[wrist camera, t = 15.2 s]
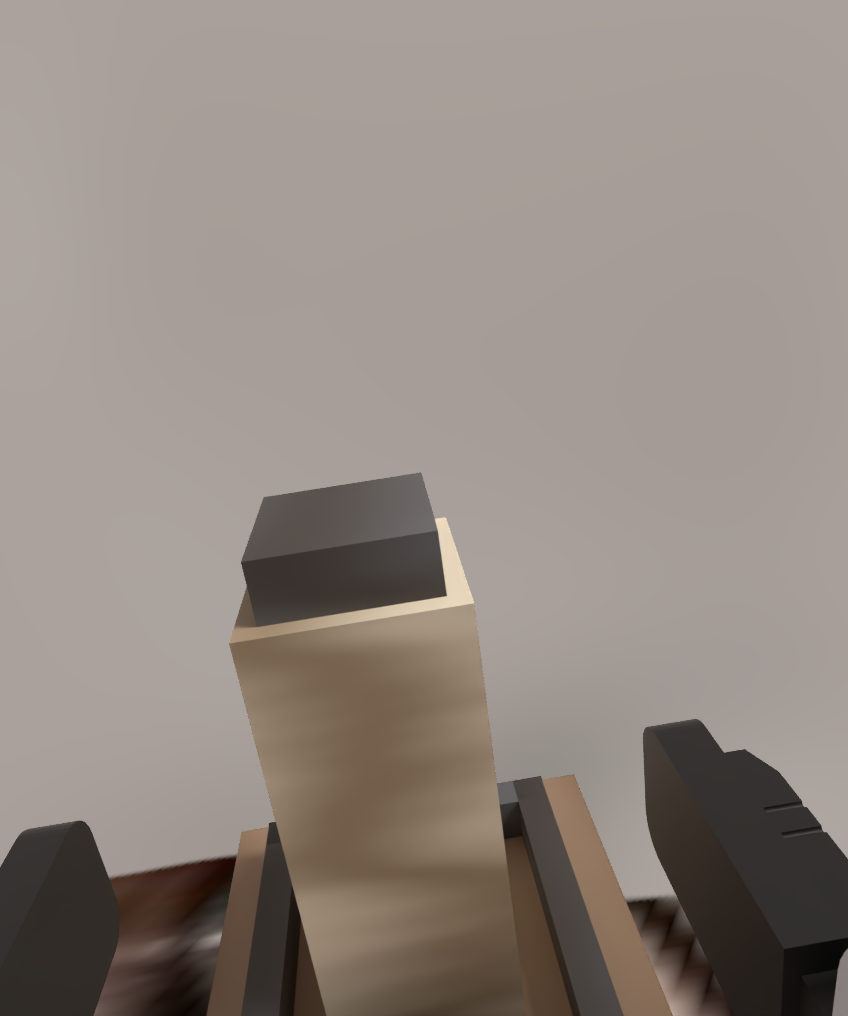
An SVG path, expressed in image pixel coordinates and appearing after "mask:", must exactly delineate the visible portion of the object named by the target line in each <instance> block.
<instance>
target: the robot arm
mask: <svg viewBox="0 0 848 1016" xmlns="http://www.w3.org/2000/svg"><path fill="white" fill-rule="evenodd" d="M643 750H644V775H645V799H646V815H647V822H648V827H649V831H650V835H651V839H652V842H653V845H654V848H655V851H656V853H657V856H658V858H659V860H660V862H661V865H662V867H663V869H664V871H665V873H666V875H667V877H668V879H669V881H670V883H671V885H672V887H673V889H674V891H675V893H676V895H677V897H678V900H679V902H680V904H681V906H682V908H683V910H684V912H685V914H686V916H687V918H688V920H689V922H690V924H691V926H692V928H693V930H694V933H695V935H696V937H697V939H698V941H699V943H700V945H701V947H702V949H703V951H704V953H705V955H706V957H707V959H708V961H709V963H710V965H711V968H712V970H713V972H714V974H715V976H716V978H717V980H718V982H719V984H720V986H721V988H722V990H723V992H724V994H725V996H726V998H727V1000H728V1003H729V1005H730V1007H731V1009H732V1011H733V1013H734V1015H735V1016H848V859H847V857H846V856H845V855H844V854H843V852H842V851H841V850H840V849H839V847H838V846H837V845H836V844H835V842H834V841H833V840H832V839H831V837H830V836H829V835H828V833H827V832H823V830H822V827H821V825H820V823H819V822H818V821H817V820H816V818H815V817H814V816H813V814H812V813H811V812H810V811H809V809H808V808H807V807H804V806H803V805H802V801H801V799H800V798H799V797H798V796H797V794H796V793H795V792H794V791H793V789H792V788H791V787H790V786H789V784H788V783H787V782H786V780H785V779H784V778H783V777H782V776H781V774H780V773H779V772H778V771H777V770H775V769H774V768H772V767H771V766H769V765H768V764H766V763H765V762H763V761H762V760H760V759H759V758H757V757H755V756H754V755H752V754H751V753H749V752H748V751H746V750H745V749H744V750H738V751H732V752H726V753H724V752H723V751H722V750H721V748H720V747H719V745H718V744H717V743H716V741H715V740H714V738H713V737H712V735H711V734H710V733H709V731H708V730H707V729H706V727H705V726H704V724H703V723H702V722H701V721H699V720H698V719H692V720H687V721H681V722H675V723H669V724H663V725H657V726H651V727H646V728H645V730H644V733H643ZM119 922H120V920H119V908H118V903H117V899H116V896H115V893H114V891H113V888H112V885H111V883H110V880H109V877H108V875H107V872H106V870H105V867H104V864H103V861H102V859H101V856H100V853H99V851H98V848H97V845H96V843H95V840H94V837H93V834H92V832H91V830H90V828H89V826H88V825H87V824H86V823H85V822H83V821H74V822H68V823H63V824H56V825H50V826H44V827H38V828H33V829H28V830H25V831H23V832H22V833H21V834H20V835H19V836H18V838H17V839H16V841H15V843H14V844H13V846H12V848H11V850H10V851H9V853H8V855H7V856H6V858H5V860H4V862H3V864H2V865H1V867H0V1016H93V1015H94V1012H95V1009H96V1006H97V1003H98V1000H99V998H100V995H101V992H102V989H103V986H104V983H105V980H106V977H107V974H108V971H109V968H110V965H111V963H112V960H113V957H114V954H115V951H116V947H117V943H118V937H119Z"/></svg>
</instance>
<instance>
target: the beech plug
mask: <svg viewBox="0 0 848 1016" xmlns="http://www.w3.org/2000/svg"><path fill="white" fill-rule="evenodd" d="M241 564H242V568H243V572H244V576H245V580H246V584H247V588H246V591H245V594H244V597H243V601H242V604H241V607H240V610H239V614H238V617H237V620H236V623H235V626H234V630H233V633H232V636H231V640H230V642H229V645H230V648H231V653H232V656H233V660H234V664H235V668H236V672H237V675H238V679H239V683H240V687H241V690H242V695H243V698H244V702H245V706H246V710H247V714H248V718H249V721H250V725H251V729H252V733H253V737H254V740H255V744H256V748H257V752H258V756H259V760H260V763H261V767H262V771H263V775H264V779H265V782H266V786H267V790H268V794H269V798H270V801H271V806H272V809H273V813H274V817H275V821H276V825H277V828H278V832H279V836H280V840H281V844H282V848H283V851H284V855H285V859H286V863H287V867H288V871H289V874H290V878H291V882H292V886H293V890H294V893H295V897H296V901H297V905H298V909H299V913H300V916H301V920H302V924H303V928H304V932H305V936H306V939H307V943H308V947H309V951H310V955H311V959H312V962H313V966H314V970H315V974H316V978H317V981H318V985H319V989H320V993H321V997H322V1001H323V1004H324V1008H325V1012H326V1016H526V1010H525V1002H524V994H523V986H522V978H521V970H520V962H519V954H518V947H517V939H516V931H515V923H514V915H513V907H512V899H511V891H510V883H509V875H508V867H507V859H506V851H505V844H504V836H503V828H502V820H501V812H500V804H499V796H498V788H497V781H496V772H495V765H494V757H493V749H492V740H491V733H490V725H489V717H488V709H487V701H486V693H485V685H484V677H483V669H482V661H481V653H480V646H479V637H478V630H477V622H476V614H475V606H474V602H473V598H472V595H471V592H470V589H469V587H468V583H467V580H466V577H465V574H464V571H463V568H462V565H461V562H460V559H459V556H458V553H457V550H456V547H455V544H454V541H453V538H452V535H451V532H450V529H449V526H448V523H447V520H446V518H439V519H434V515H433V512H432V508H431V505H430V502H429V498H428V495H427V491H426V488H425V484H424V481H423V477H422V474H421V473H416V474H410V475H403V476H397V477H390V478H384V479H377V480H371V481H365V482H359V483H352V484H346V485H340V486H333V487H327V488H320V489H314V490H308V491H301V492H295V493H289V494H282V495H276V496H270V497H264V498H263V501H262V504H261V507H260V510H259V513H258V515H257V518H256V521H255V524H254V527H253V530H252V533H251V535H250V538H249V541H248V544H247V547H246V550H245V553H244V555H243V558H242V561H241Z"/></svg>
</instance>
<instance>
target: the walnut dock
mask: <svg viewBox="0 0 848 1016" xmlns="http://www.w3.org/2000/svg"><path fill="white" fill-rule="evenodd" d="M497 788H498V796H499V804H500V812H501V820H502V828H503V836H504V844H505V851H506V859H507V867H508V875H509V883H510V891H511V899H512V907H513V915H514V923H515V931H516V939H517V947H518V954H519V962H520V970H521V978H522V986H523V994H524V1002H525V1010H526V1016H673V1015H672V1013H671V1010H670V1008H669V1005H668V1003H667V1000H666V998H665V996H664V993H663V991H662V988H661V986H660V983H659V981H658V979H657V976H656V974H655V971H654V969H653V966H652V964H651V961H650V959H649V957H648V954H647V952H646V949H645V947H644V944H643V942H642V939H641V937H640V935H639V932H638V930H637V927H636V925H635V922H634V920H633V918H632V915H631V913H630V910H629V908H628V905H627V903H626V900H625V898H624V896H623V893H622V891H621V888H620V886H619V883H618V881H617V879H616V877H615V874H614V871H613V869H612V866H611V864H610V862H609V859H608V857H607V854H606V852H605V849H604V847H603V845H602V842H601V840H600V837H599V835H598V833H597V830H596V827H595V825H594V822H593V820H592V818H591V815H590V813H589V810H588V808H587V806H586V803H585V801H584V798H583V796H582V793H581V791H580V788H579V786H578V783H577V781H576V779H575V776H574V775H567V776H562V777H556V778H550V779H544V780H542V778H541V776H539V777H533V778H527V779H521V780H515V781H510V782H504V783H498V784H497ZM206 1016H326V1012H325V1008H324V1004H323V1001H322V997H321V993H320V989H319V985H318V981H317V978H316V974H315V970H314V966H313V962H312V959H311V955H310V951H309V947H308V943H307V939H306V936H305V932H304V928H303V924H302V920H301V916H300V913H299V909H298V905H297V901H296V897H295V893H294V890H293V886H292V882H291V878H290V874H289V871H288V867H287V863H286V859H285V855H284V851H283V848H282V844H281V840H280V836H279V832H278V828H277V825H276V822H272V823H269V827H267V828H261V829H255V830H250V831H245V832H242V833H241V838H240V843H239V849H238V854H237V859H236V864H235V869H234V875H233V880H232V885H231V890H230V895H229V901H228V906H227V911H226V916H225V922H224V927H223V932H222V937H221V942H220V948H219V953H218V958H217V963H216V969H215V974H214V979H213V984H212V989H211V995H210V1000H209V1005H208V1010H207V1015H206Z"/></svg>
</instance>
